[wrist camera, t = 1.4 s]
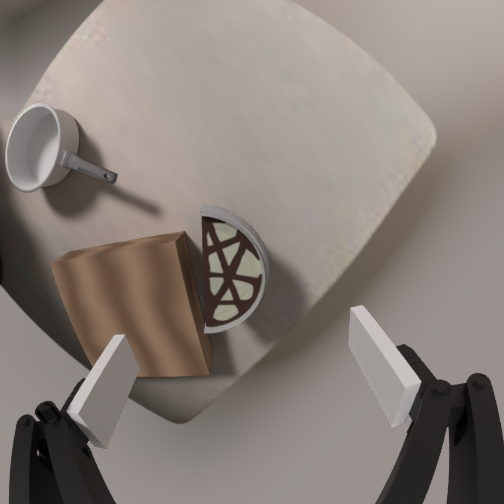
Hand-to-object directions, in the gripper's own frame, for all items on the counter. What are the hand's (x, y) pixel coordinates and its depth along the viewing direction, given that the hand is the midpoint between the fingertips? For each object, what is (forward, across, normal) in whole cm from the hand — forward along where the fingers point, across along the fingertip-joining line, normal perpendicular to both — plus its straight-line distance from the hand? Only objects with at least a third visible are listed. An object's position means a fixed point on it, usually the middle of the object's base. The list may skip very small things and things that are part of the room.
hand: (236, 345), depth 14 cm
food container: (+20, 0, 0) cm, 20 cm away
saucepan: (+20, -20, +16) cm, 32 cm away
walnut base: (+19, -15, -6) cm, 25 cm away
